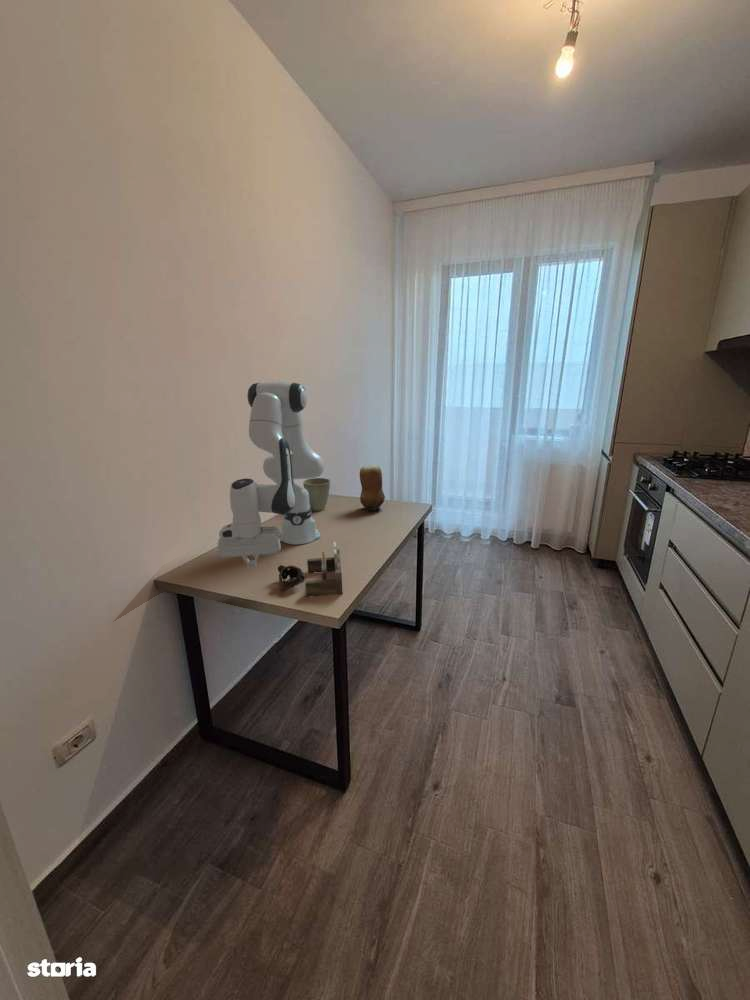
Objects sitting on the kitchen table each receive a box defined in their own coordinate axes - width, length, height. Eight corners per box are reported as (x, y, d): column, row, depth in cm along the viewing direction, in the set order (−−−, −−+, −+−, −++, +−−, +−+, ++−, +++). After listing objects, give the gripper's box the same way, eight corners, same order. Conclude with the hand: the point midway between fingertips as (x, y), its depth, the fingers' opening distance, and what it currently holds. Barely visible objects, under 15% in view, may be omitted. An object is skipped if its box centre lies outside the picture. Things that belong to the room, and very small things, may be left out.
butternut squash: (363, 505, 227) (361, 462, 220) (386, 506, 225) (385, 462, 218) (358, 513, 214) (356, 467, 207) (382, 514, 212) (382, 468, 204)
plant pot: (303, 513, 215) (301, 485, 211) (306, 505, 230) (304, 478, 225) (331, 512, 216) (330, 484, 212) (332, 504, 231) (330, 477, 226)
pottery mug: (312, 582, 143) (308, 569, 137) (294, 602, 138) (289, 590, 132) (288, 566, 149) (283, 554, 142) (270, 585, 144) (264, 573, 138)
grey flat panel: (322, 574, 147) (321, 546, 143) (327, 573, 147) (325, 546, 144) (322, 587, 137) (321, 558, 134) (327, 587, 137) (325, 558, 134)
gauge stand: (308, 571, 150) (305, 539, 147) (340, 568, 152) (338, 536, 148) (306, 597, 132) (303, 561, 129) (342, 594, 134) (340, 558, 130)
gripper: (280, 523, 137) (283, 560, 141) (218, 526, 134) (223, 564, 138) (278, 529, 131) (282, 567, 135) (213, 533, 128) (219, 572, 132)
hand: (252, 566), depth 136 cm, fingers closed
